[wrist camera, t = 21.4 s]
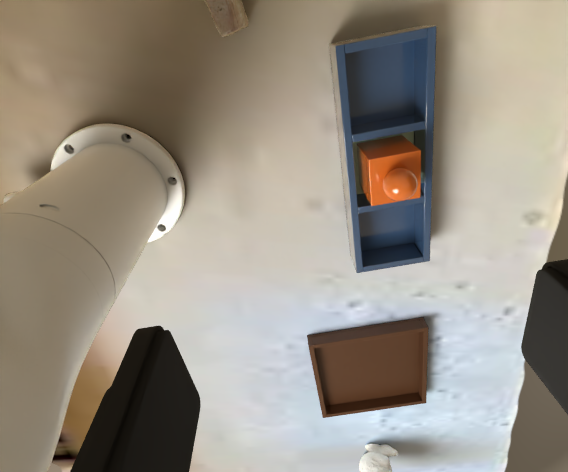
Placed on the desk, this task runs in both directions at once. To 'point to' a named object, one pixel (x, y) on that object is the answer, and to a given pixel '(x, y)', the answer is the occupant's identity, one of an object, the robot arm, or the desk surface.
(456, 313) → the desk surface
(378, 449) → the white lumpy piece
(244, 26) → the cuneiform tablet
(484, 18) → the desk surface
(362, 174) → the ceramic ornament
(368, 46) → the three-compartment dish
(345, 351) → the walnut tray
